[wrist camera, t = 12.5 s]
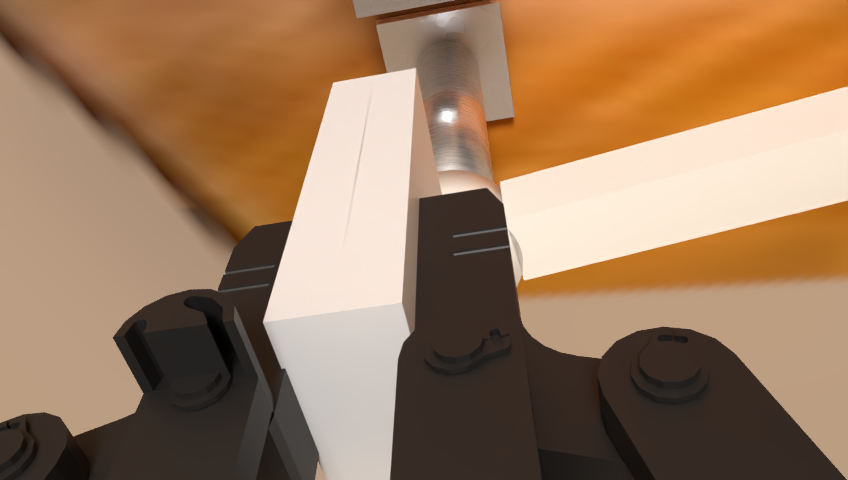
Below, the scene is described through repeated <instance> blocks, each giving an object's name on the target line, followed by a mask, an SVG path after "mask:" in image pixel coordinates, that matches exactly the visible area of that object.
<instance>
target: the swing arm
mask: <svg viewBox="0 0 848 480" xmlns="http://www.w3.org/2000/svg"><path fill="white" fill-rule="evenodd" d="M438 177H439V182H440V187H441V192H442V195H443V194H450V193H456V192H462V191H469V190H475V189H481V188H488V189H489V190H490V191H491V192H492V193H493V194H494V195H495V196H496V197H497V198H498V199H499V200H500V201H501V202H502V203H503V204H504V210H505V216H506V223H507V229H508V236H509V242H510V249H511V255H512V262H513V268H514V275H515V281H516V288H517V286H518V284H519V281H520V279H521V276H522V275H523V278H524V281H525V280H529V279H533V278H537V277H541V276H545V275H549V274H553V273H557V272H561V271H565V270H569V269H573V268H577V267H581V266H585V265H589V264H593V263H597V262H601V261H605V260H609V259H613V258H617V257H622V256H626V255H630V254H634V253H638V252H642V251H646V250H650V249H654V248H658V247H662V246H666V245H670V244H674V243H678V242H682V241H686V240H690V239H694V238H698V237H702V236H706V235H710V234H714V233H718V232H722V231H727V230H731V229H735V228H739V227H743V226H747V225H751V224H755V223H759V222H763V221H767V220H771V219H775V218H779V217H783V216H787V215H791V214H795V213H799V212H803V211H807V210H811V209H815V208H819V207H823V206H828V205H832V204H836V203H840V202H844V201H848V87H844V88H841V89H837V90H833V91H830V92H826V93H822V94H819V95H815V96H811V97H808V98H804V99H801V100H797V101H793V102H790V103H786V104H782V105H779V106H775V107H771V108H768V109H764V110H760V111H757V112H753V113H749V114H746V115H742V116H738V117H735V118H731V119H728V120H724V121H720V122H717V123H713V124H709V125H706V126H702V127H698V128H695V129H691V130H687V131H684V132H680V133H676V134H673V135H669V136H665V137H662V138H658V139H655V140H651V141H647V142H644V143H640V144H636V145H633V146H629V147H625V148H622V149H618V150H614V151H611V152H607V153H603V154H600V155H596V156H592V157H589V158H585V159H581V160H578V161H574V162H571V163H567V164H563V165H560V166H556V167H552V168H549V169H545V170H541V171H538V172H534V173H530V174H527V175H523V176H519V177H516V178H512V179H508V180H505V181H501V182H500V187H501V188H500V187H499V186H498V185H497V184H496V183H494V182H493V181H491V180H490V179H488V178H486V177H484V176H481V175H479V174H476V173H472V172H469V171H462V170H446V171H439V172H438Z"/></svg>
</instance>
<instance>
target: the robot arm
mask: <svg viewBox="0 0 848 480" xmlns="http://www.w3.org/2000/svg"><path fill="white" fill-rule="evenodd" d="M225 272H226V275H223V277H222V280H221V283H220V285H219V288H218V292H217V291H214V290H212V289H197V290H187V291H183V292H180V293H175V294H172V295H168V296H165V297H163V298H161V299H159V300H157V301H155V302H153V303H151V304H149V305H147V306H145V307H143V308H142V309H141V310H139V311H138V312H137V313H136V314H134V315H133V316H132V317H130V318H129V319H128V320H127V321H125V323H124V324H123V325H122V326H121V328H120V329H119V330H118V331H117V333H116V334H115V335H114V337H113V339H114V341H115V342H116V344H117V346H118V348H119V350H120V351H121V353H122V355H123V357H124V359H125V360H126V362H127V364H128V366H129V368H130V370H131V371H132V373H133V375H134V377H135V379H136V380H137V382H138V384H139V386H140V388H141V389H142V391H143V393H144V394H143V396H142V399H141V401H140V404H139V406H138V408H137V410H136V412H135V413H134V414H131V415H129V416H127V417H125V418H122V419H119V420H117V421H114V422H111V423H109V424H106V425H103V426H101V427H98V428H95V429H93V430H90V431H87V432H84V433H82V434H79V435H77V436H74V437H73V436H72V434H71V433H70V431H69V430H68V428H67V427H66V425H65V424H64V422H63V421H62V419H61V418H60V417H58V416H54V415H51V414H48V413H45V412H44V413H34V414H24V415H21V416H18V417H15V418H13V419H10V420H7V421H4V422H2V423H0V480H315V475H316V469H317V462H318V461H319V463H320V466H321V469H322V471H323V474H324V476H325V478H326V480H847V479H846V478H845V477H844V476H843V475H842V474H841V473H840V472H839V471H838V469H837V468H836V467H835V466H834V465H833V464H832V463H831V461H830V460H829V459H828V458H827V457H826V456H825V455H824V454H823V453H822V451H821V450H820V449H819V448H818V447H817V446H816V445H815V443H814V442H813V441H812V440H811V439H810V438H809V437H808V435H806V433H805V432H804V431H803V430H802V429H801V428H800V426H799V425H798V424H797V423H796V422H795V421H794V420H793V419H792V418H791V416H790V415H789V414H788V413H787V412H786V411H785V410H784V408H783V407H782V406H781V405H780V404H779V403H778V402H777V401H776V400H775V398H774V397H773V396H772V395H771V394H770V393H769V392H768V390H767V389H766V388H765V387H764V386H763V385H762V384H761V383H760V381H759V380H758V379H757V378H756V377H755V376H754V375H753V374H752V372H751V371H750V370H749V369H748V368H747V367H746V366H745V364H744V363H743V362H742V361H741V360H740V359H739V358H738V357H737V355H736V354H735V353H733V352H732V351H731V350H730V349H728V348H727V347H726V346H724V345H723V344H722V343H721V342H719V341H718V340H716V339H715V338H712V337H710V336H707V335H704V334H701V333H699V332H696V331H693V330H691V329H681V328H670V327H660V328H653V329H647V330H641V331H637V332H635V333H632V334H631V335H628V336H626V337H624V338H622V339H620V340H618V341H616V342H615V343H614V344H613V346H612V347H610V349H609V350H608V351H607V352H606V353H605V354H604V355H603V356H602V359H599V358H590V357H581V356H575V355H571V354H566V353H560V352H558V351H556V350H553V349H551V348H548V347H545V346H544V345H542V344H541V343H539V342H538V341H537V340H535V339H534V338H532V337H531V335H530V334H529V333H528V332H527V331H526V329H525V328H524V327H523V324H522V321H521V317H520V309H519V302H518V295H517V288H516V281H515V275H514V268H513V262H512V255H511V249H510V242H509V236H508V229H507V223H506V216H505V210H504V204H503V203H502V202H501V201H500V200H499V199H498V198H497V197H496V196H495V195H494V194H493V193H492V192H491V191H490V190H489V189H488V188H481V189H475V190H469V191H462V192H456V193H450V194H443V195H442V192H441V187H440V182H439V177H438V172H437V167H436V163H435V158H434V153H433V148H432V143H431V138H430V133H429V128H428V124H427V119H426V114H425V109H424V104H423V99H422V94H421V90H420V85H419V80H418V75H417V70H416V68H413V69H408V70H402V71H396V72H391V73H385V74H380V75H374V76H368V77H363V78H357V79H351V80H346V81H340V82H335V83H333V86H332V89H331V92H330V96H329V99H328V103H327V106H326V109H325V113H324V116H323V120H322V123H321V126H320V130H319V133H318V137H317V140H316V143H315V147H314V150H313V154H312V157H311V160H310V164H309V167H308V171H307V174H306V177H305V181H304V184H303V188H302V191H301V194H300V198H299V201H298V205H297V208H296V211H295V215H294V218H293V221H287V222H281V223H274V224H268V225H262V226H255V227H254V228H253V229H252V230H251V231H250V232H249V233H248V234H247V235H246V236H245V237H244V238H243V239H242V240H241V241H240V242H239V243H238V244H237V246H236V247H235V248H234V249H233V252H232V254H231V257H230V260H229V262H228V265H227V267H226V270H225Z"/></svg>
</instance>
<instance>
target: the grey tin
mask: <svg viewBox="0 0 848 480" xmlns="http://www.w3.org/2000/svg"><path fill="white" fill-rule="evenodd" d="M448 1H453V0H353V4H354V9H355V13H356V17H357V18H362V17H368V16H373V15H378V14H384V13H389V12H394V11H400V10H405V9H410V8H416V7H421V6H427V5H432V4H437V3H443V2H448Z"/></svg>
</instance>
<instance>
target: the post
mask: <svg viewBox="0 0 848 480" xmlns="http://www.w3.org/2000/svg"><path fill="white" fill-rule="evenodd" d="M376 27H377V32H378V36H379V41H380V45H381V49H382V54H383V58H384V62H385V67H386V71H387V73H391V72H396V71H402V70H408V69H413V68H416V70H417V75H418V80H419V85H420V90H421V94H422V99H423V104H424V109H425V114H426V119H427V124H428V128H429V133H430V138H431V143H432V148H433V153H434V158H435V163H436V167H437V172H439V171H446V170H462V171H469V172H472V173H476V174H479V175H481V176H484V177H486V178H488V179H490V180H491V181H493V182H494V178H493V171H492V163H491V155H490V147H489V139H488V131H487V124H486V121H492V120H498V119H504V118H510V117H514V109H513V102H512V94H511V87H510V79H509V72H508V64H507V57H506V50H505V42H504V35H503V27H502V20H501V12H500V5H499V0H481V1H476V2H471V3H465V4H460V5H455V6H449V7H444V8H438V9H433V10H428V11H422V12H417V13H411V14H406V15H401V16H395V17H390V18H385V19H379V20H377V23H376Z"/></svg>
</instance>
